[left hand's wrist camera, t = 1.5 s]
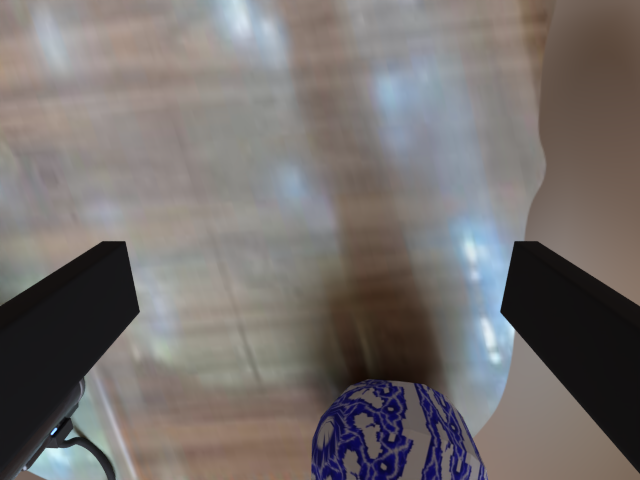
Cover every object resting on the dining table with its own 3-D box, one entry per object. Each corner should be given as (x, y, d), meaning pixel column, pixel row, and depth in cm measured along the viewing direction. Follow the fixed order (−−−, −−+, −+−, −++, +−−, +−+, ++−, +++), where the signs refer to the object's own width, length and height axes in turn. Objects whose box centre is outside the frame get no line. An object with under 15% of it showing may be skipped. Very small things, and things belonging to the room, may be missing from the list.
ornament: (404, 606, 43) (257, 549, 39) (408, 433, 58) (301, 379, 53) (558, 619, 30) (365, 537, 26) (512, 395, 45) (384, 320, 41)
